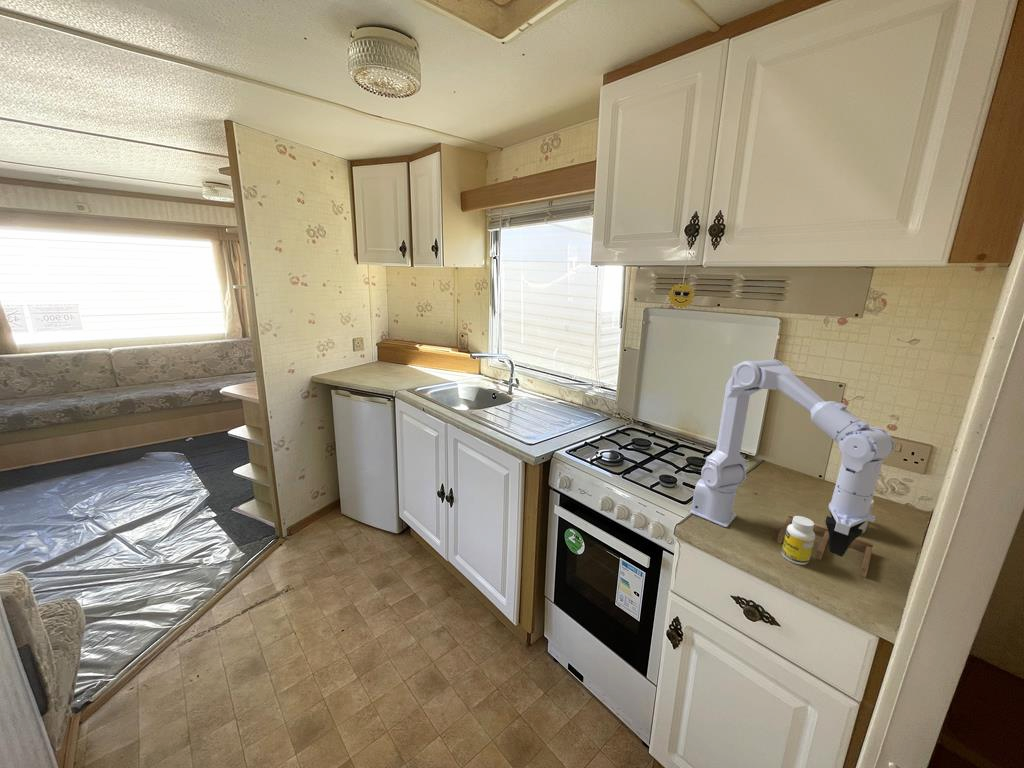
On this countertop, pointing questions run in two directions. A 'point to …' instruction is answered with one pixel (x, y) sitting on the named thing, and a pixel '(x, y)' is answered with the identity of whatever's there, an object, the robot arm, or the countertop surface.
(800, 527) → the supplement bottle
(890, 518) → the countertop surface
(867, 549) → the rack
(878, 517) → the countertop surface
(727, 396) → the robot arm
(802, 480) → the countertop surface
